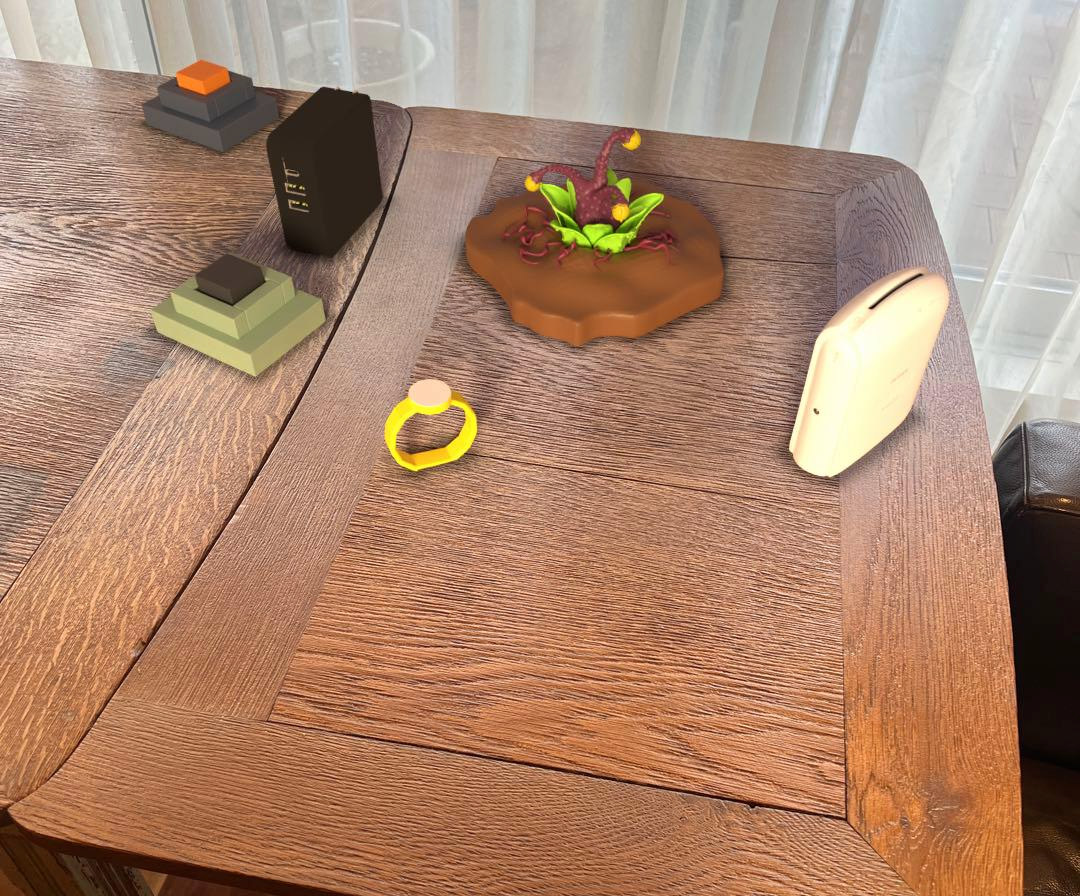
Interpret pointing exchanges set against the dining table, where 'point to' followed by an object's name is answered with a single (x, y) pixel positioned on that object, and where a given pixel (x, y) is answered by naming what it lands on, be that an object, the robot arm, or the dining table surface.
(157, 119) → the grey orange stepped button
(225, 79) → the key
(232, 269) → the key
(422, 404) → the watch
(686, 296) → the plant
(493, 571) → the dining table surface
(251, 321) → the green stepped button
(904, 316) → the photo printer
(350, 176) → the electronic device
